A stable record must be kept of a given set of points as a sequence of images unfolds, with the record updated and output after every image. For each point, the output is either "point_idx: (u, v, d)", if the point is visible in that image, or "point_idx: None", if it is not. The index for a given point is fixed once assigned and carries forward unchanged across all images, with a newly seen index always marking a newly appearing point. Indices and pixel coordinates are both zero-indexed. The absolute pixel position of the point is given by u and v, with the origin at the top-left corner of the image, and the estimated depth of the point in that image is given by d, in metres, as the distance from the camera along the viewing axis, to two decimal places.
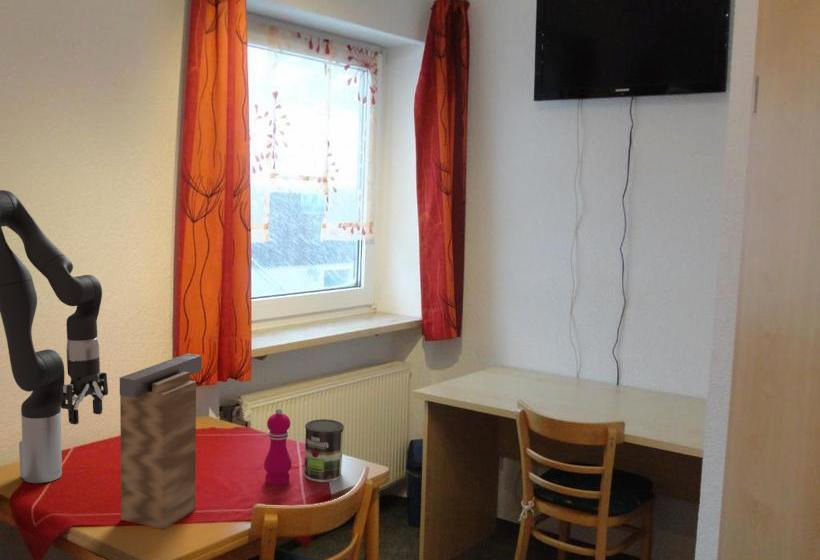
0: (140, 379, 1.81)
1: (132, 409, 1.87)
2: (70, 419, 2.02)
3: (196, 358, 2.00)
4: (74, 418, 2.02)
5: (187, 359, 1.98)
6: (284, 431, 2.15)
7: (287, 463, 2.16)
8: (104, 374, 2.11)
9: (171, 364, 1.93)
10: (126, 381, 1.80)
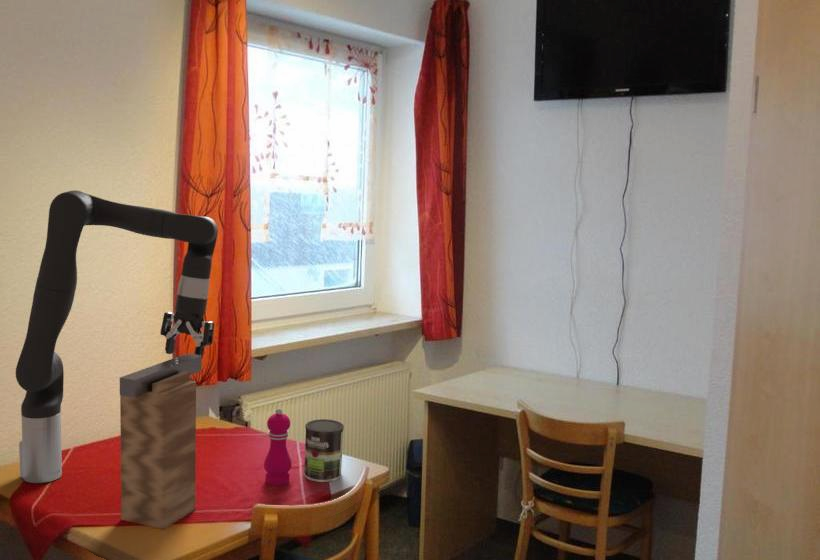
0: (140, 379, 1.81)
1: (132, 409, 1.87)
2: None
3: (196, 358, 2.00)
4: None
5: (187, 359, 1.98)
6: (284, 431, 2.15)
7: (287, 463, 2.16)
8: None
9: (171, 364, 1.93)
10: (126, 381, 1.80)
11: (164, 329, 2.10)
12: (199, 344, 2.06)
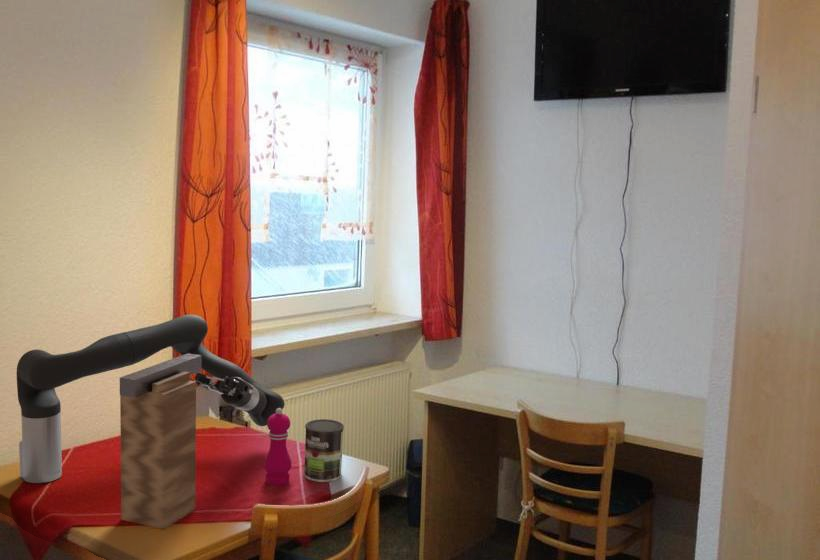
0: (140, 379, 1.81)
1: (132, 409, 1.87)
2: (231, 381, 2.10)
3: (196, 358, 2.00)
4: (229, 385, 2.10)
5: (187, 359, 1.98)
6: (284, 431, 2.15)
7: (287, 463, 2.16)
8: (209, 389, 2.21)
9: (171, 364, 1.93)
10: (126, 381, 1.80)
11: None
12: (237, 381, 2.13)
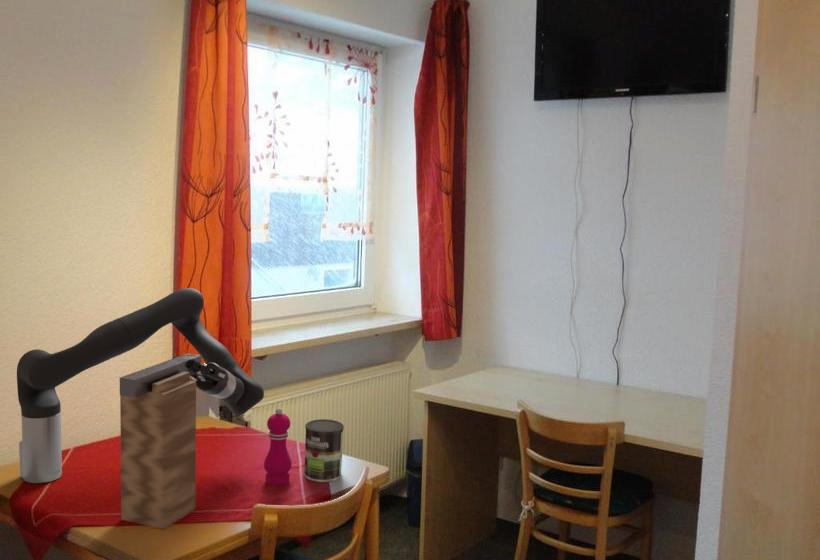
0: (140, 379, 1.81)
1: (132, 409, 1.87)
2: (195, 363, 1.98)
3: (196, 358, 2.00)
4: (194, 367, 1.98)
5: (187, 359, 1.98)
6: (284, 431, 2.15)
7: (287, 463, 2.16)
8: None
9: (171, 364, 1.93)
10: (126, 381, 1.80)
11: None
12: (202, 363, 2.01)
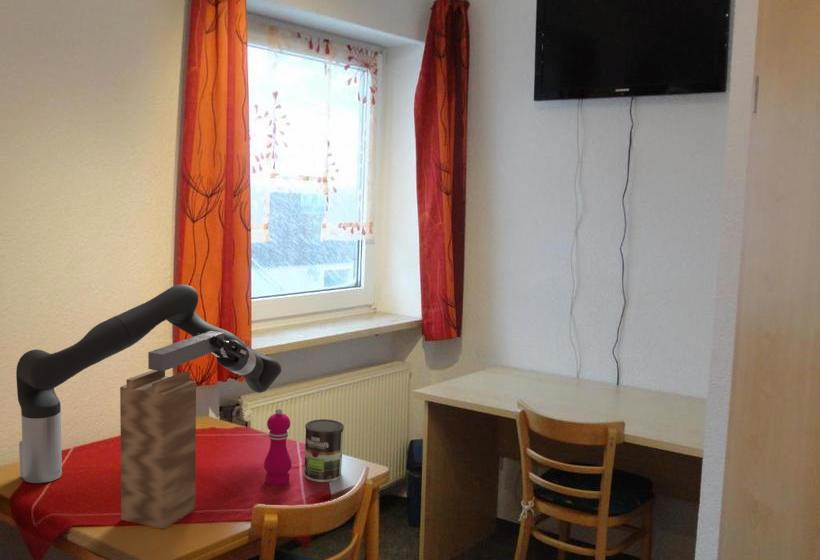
0: (168, 354, 1.90)
1: (132, 409, 1.87)
2: (218, 340, 2.07)
3: (219, 335, 2.09)
4: (217, 344, 2.07)
5: (211, 336, 2.06)
6: (284, 431, 2.15)
7: (287, 463, 2.16)
8: None
9: (196, 340, 2.01)
10: (155, 355, 1.88)
11: None
12: (225, 340, 2.10)
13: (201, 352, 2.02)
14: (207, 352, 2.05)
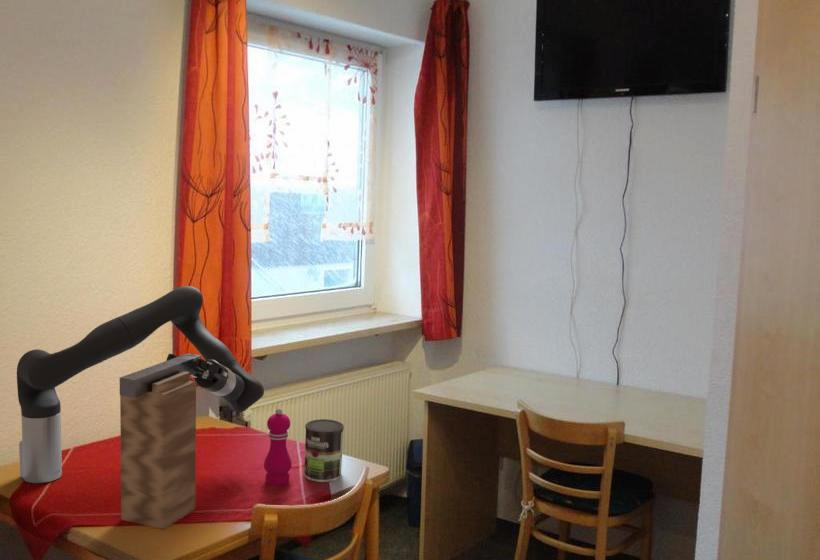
0: (140, 379, 1.81)
1: (132, 409, 1.87)
2: (203, 363, 1.98)
3: (196, 358, 2.00)
4: (202, 367, 1.98)
5: (187, 359, 1.98)
6: (284, 431, 2.15)
7: (287, 463, 2.16)
8: None
9: (171, 364, 1.93)
10: (126, 381, 1.80)
11: None
12: (210, 363, 2.01)
13: None
14: None
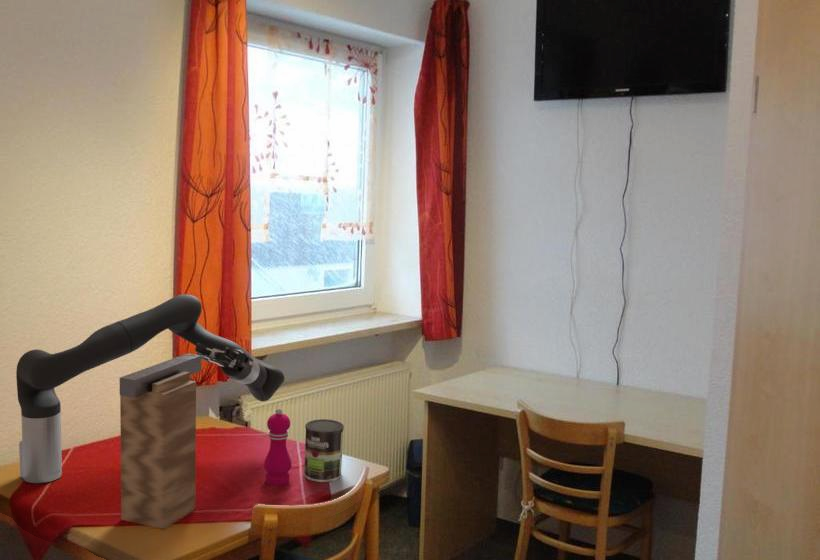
0: (140, 379, 1.81)
1: (132, 409, 1.87)
2: (231, 352, 2.09)
3: (196, 358, 2.00)
4: (230, 356, 2.09)
5: (187, 359, 1.98)
6: (284, 431, 2.15)
7: (287, 463, 2.16)
8: None
9: (171, 364, 1.93)
10: (126, 381, 1.80)
11: None
12: None
13: None
14: None
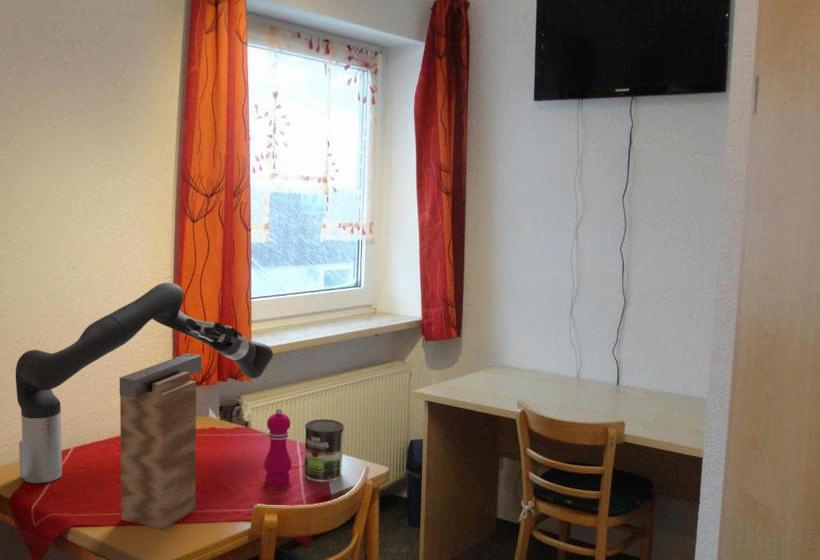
0: (140, 379, 1.81)
1: (132, 409, 1.87)
2: (220, 326, 2.14)
3: (196, 358, 2.00)
4: (219, 330, 2.14)
5: (187, 359, 1.98)
6: (284, 431, 2.15)
7: (287, 463, 2.16)
8: (199, 337, 2.25)
9: (171, 364, 1.93)
10: (126, 381, 1.80)
11: None
12: (227, 327, 2.17)
13: None
14: None
